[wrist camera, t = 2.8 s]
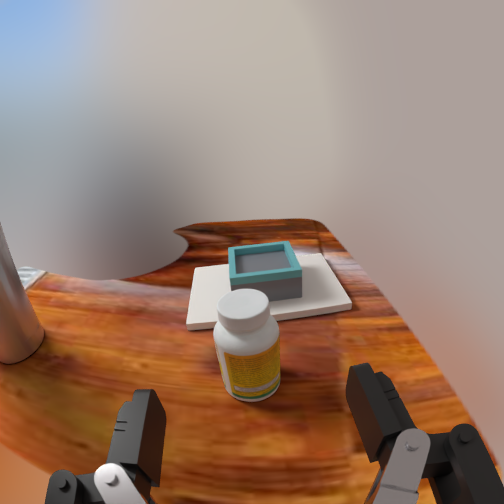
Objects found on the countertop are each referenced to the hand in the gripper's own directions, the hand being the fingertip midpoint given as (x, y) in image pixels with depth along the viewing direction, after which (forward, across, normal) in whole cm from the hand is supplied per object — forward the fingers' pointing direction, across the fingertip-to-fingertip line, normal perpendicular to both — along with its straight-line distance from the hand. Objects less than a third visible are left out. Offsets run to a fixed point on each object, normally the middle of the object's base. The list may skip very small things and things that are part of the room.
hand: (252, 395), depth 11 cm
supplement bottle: (+12, 0, +13) cm, 17 cm away
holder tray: (+28, -3, +12) cm, 30 cm away
